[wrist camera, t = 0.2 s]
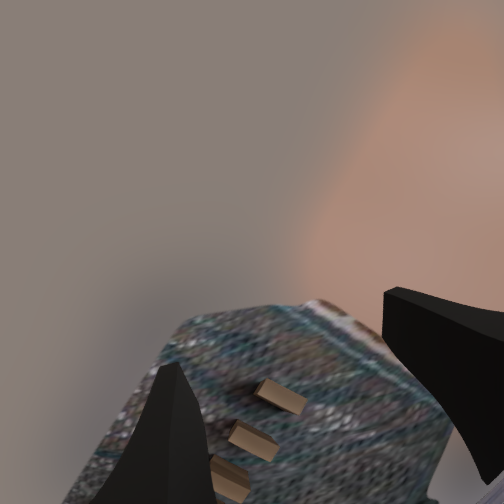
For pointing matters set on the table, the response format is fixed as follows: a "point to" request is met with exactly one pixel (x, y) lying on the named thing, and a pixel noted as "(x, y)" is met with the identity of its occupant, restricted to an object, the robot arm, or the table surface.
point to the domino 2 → (253, 440)
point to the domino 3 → (280, 396)
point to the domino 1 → (229, 479)
